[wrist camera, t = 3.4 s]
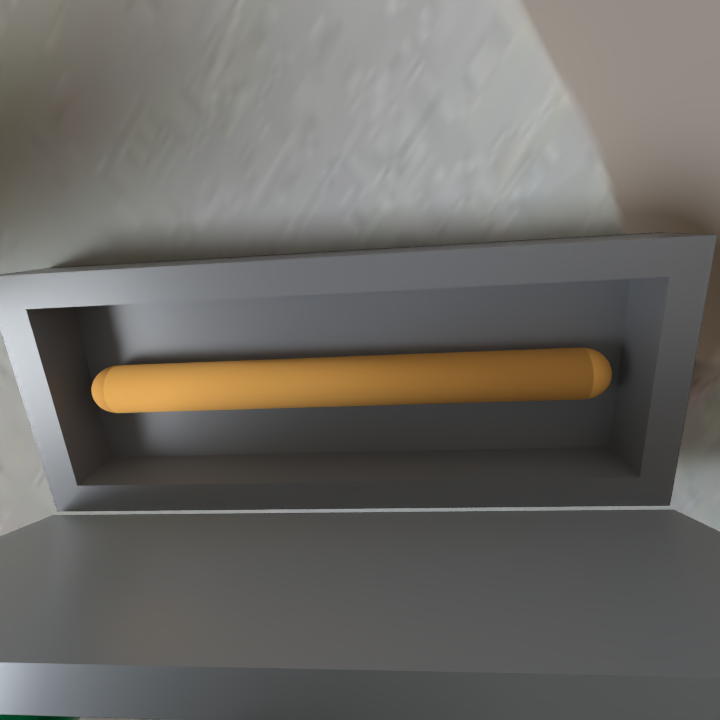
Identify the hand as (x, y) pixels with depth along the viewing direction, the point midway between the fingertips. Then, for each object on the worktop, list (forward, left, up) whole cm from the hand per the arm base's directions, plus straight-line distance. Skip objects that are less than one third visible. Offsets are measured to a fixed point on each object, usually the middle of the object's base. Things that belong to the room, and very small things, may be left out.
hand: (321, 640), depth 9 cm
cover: (0, 0, -2) cm, 2 cm away
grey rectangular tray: (0, -3, -8) cm, 8 cm away
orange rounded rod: (0, -3, -6) cm, 7 cm away
